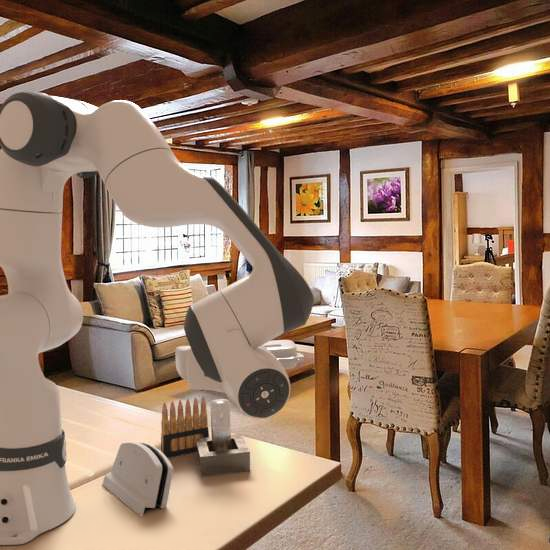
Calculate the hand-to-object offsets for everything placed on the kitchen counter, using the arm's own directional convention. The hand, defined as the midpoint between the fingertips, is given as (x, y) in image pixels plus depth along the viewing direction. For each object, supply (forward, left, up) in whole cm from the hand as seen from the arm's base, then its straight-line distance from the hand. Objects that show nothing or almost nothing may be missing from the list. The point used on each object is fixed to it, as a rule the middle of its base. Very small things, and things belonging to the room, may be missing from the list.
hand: (230, 346), depth 103 cm
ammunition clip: (-7, +23, -28) cm, 37 cm away
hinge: (-17, +6, -28) cm, 34 cm away
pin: (0, +15, -27) cm, 31 cm away
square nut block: (0, +15, -28) cm, 32 cm away
